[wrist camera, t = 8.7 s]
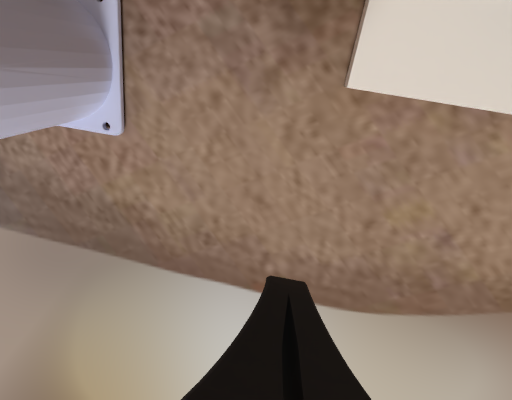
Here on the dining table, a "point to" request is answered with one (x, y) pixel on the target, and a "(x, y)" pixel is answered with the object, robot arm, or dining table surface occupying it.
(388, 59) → the board
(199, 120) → the dining table surface
